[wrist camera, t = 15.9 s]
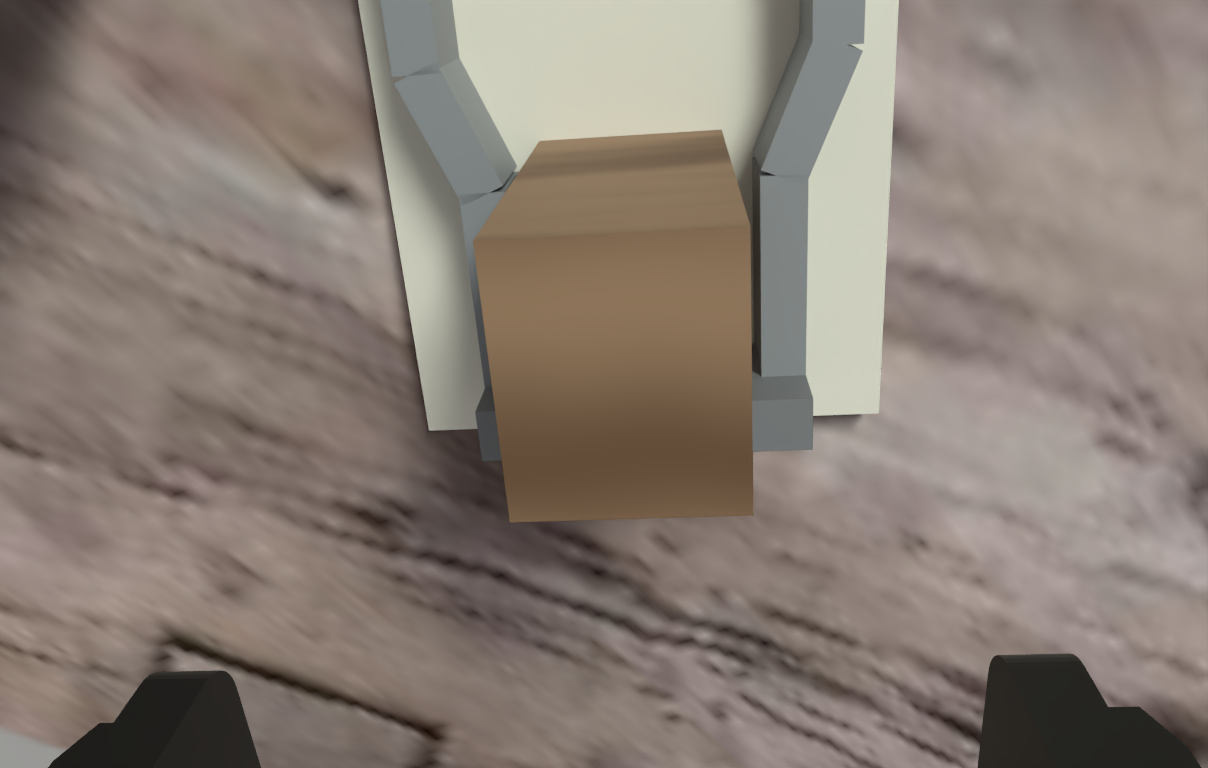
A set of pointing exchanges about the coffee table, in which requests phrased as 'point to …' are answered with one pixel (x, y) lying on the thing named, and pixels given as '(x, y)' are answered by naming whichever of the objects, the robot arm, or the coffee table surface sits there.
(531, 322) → the brown block
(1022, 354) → the coffee table surface
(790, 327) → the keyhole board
